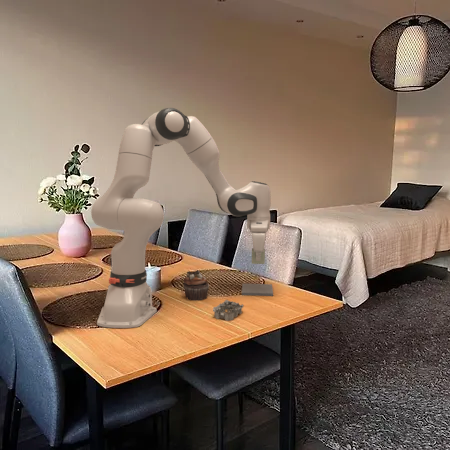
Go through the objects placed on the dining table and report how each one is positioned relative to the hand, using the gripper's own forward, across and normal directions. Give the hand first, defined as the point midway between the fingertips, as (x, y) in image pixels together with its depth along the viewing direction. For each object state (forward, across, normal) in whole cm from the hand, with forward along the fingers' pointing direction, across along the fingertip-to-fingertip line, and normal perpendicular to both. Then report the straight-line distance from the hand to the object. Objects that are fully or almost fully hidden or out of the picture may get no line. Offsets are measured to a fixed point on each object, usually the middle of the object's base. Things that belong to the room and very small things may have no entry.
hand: (257, 258), depth 179 cm
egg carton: (+13, +28, -10) cm, 32 cm away
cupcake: (+13, +10, -23) cm, 28 cm away
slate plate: (+13, 0, 0) cm, 13 cm away
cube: (+2, 0, 0) cm, 2 cm away
